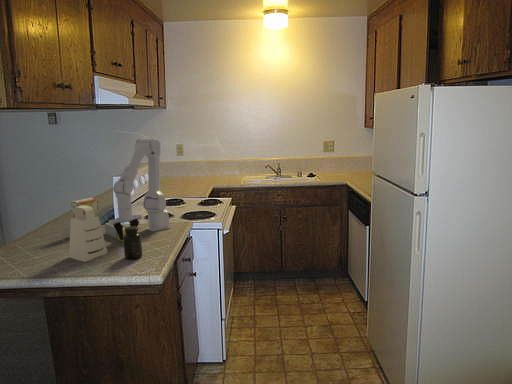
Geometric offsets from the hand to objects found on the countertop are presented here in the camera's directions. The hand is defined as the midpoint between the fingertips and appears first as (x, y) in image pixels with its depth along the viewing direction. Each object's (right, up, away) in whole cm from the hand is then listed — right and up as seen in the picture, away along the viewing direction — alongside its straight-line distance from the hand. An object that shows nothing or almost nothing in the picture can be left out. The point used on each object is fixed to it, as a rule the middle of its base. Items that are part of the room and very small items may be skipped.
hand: (127, 238), depth 191 cm
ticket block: (-8, 0, +9) cm, 12 cm away
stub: (-1, -1, +1) cm, 1 cm away
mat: (-3, -1, +4) cm, 5 cm away
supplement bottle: (+9, -5, -21) cm, 24 cm away
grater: (-10, -5, -18) cm, 21 cm away
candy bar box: (-23, 0, +14) cm, 27 cm away
